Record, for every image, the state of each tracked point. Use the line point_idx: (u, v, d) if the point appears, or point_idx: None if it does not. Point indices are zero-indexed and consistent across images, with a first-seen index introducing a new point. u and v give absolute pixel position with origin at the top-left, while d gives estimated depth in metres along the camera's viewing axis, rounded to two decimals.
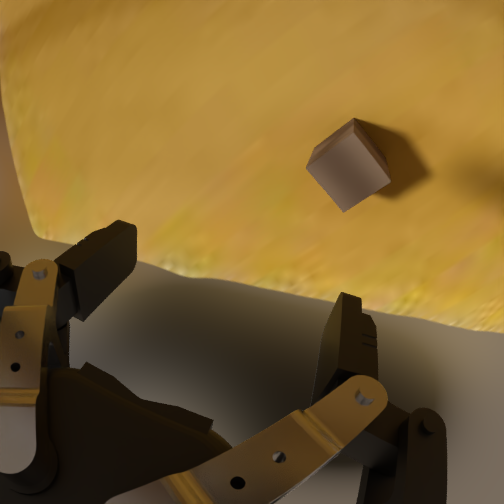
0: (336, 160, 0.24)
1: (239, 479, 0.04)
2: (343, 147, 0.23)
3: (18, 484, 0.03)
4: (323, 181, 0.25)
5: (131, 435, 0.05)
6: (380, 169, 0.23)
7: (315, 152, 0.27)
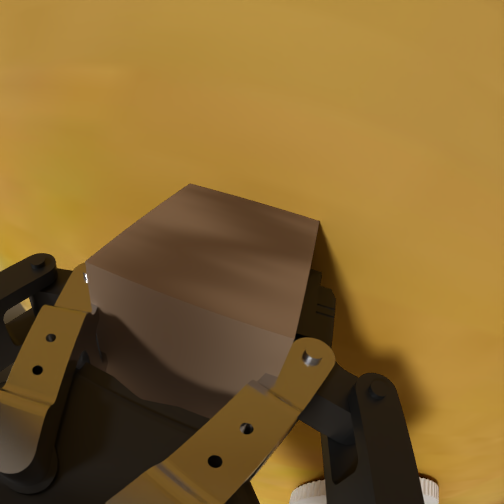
0: (174, 330, 0.07)
1: (239, 479, 0.04)
2: (224, 332, 0.07)
3: (18, 484, 0.03)
4: (105, 321, 0.08)
5: (131, 435, 0.05)
6: None
7: (167, 214, 0.09)
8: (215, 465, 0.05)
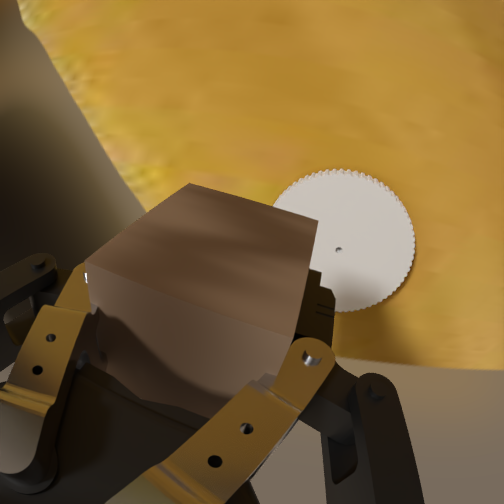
0: (174, 329, 0.07)
1: (239, 479, 0.04)
2: (222, 332, 0.07)
3: (18, 484, 0.03)
4: (104, 320, 0.08)
5: (131, 435, 0.05)
6: None
7: (167, 213, 0.09)
8: (215, 465, 0.05)
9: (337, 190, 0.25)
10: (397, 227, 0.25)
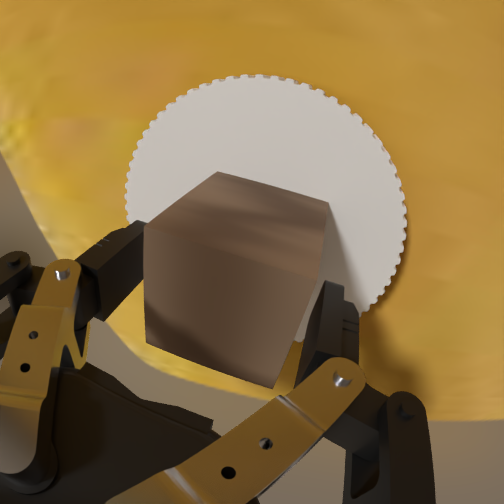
0: (219, 280, 0.09)
1: (239, 479, 0.04)
2: (261, 279, 0.09)
3: (18, 484, 0.03)
4: (155, 279, 0.10)
5: (131, 435, 0.05)
6: (278, 366, 0.10)
7: (204, 193, 0.11)
8: None
9: (239, 109, 0.12)
10: (368, 182, 0.12)
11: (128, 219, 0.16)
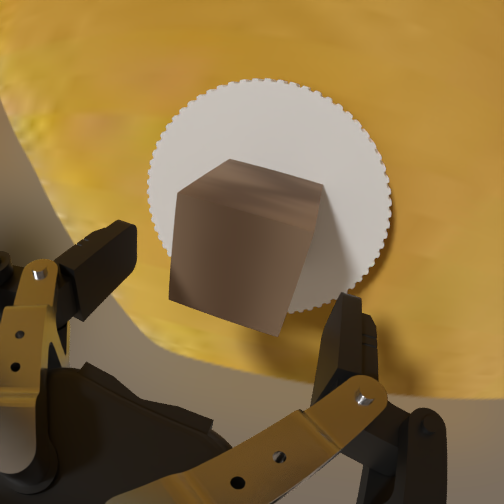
0: (237, 235, 0.11)
1: (239, 479, 0.04)
2: (270, 232, 0.11)
3: (18, 484, 0.03)
4: (182, 238, 0.12)
5: (131, 435, 0.05)
6: (283, 312, 0.12)
7: (221, 173, 0.14)
8: None
9: (250, 107, 0.15)
10: (358, 167, 0.15)
11: (149, 202, 0.19)
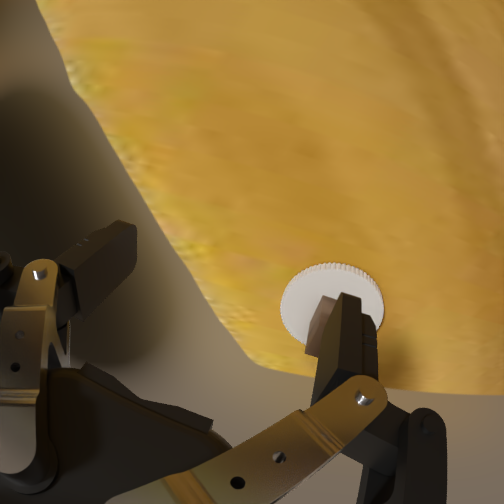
0: None
1: (239, 479, 0.04)
2: None
3: (18, 484, 0.03)
4: (317, 336, 0.36)
5: (131, 435, 0.05)
6: None
7: (325, 309, 0.38)
8: None
9: (335, 279, 0.39)
10: (372, 302, 0.39)
11: (281, 306, 0.43)
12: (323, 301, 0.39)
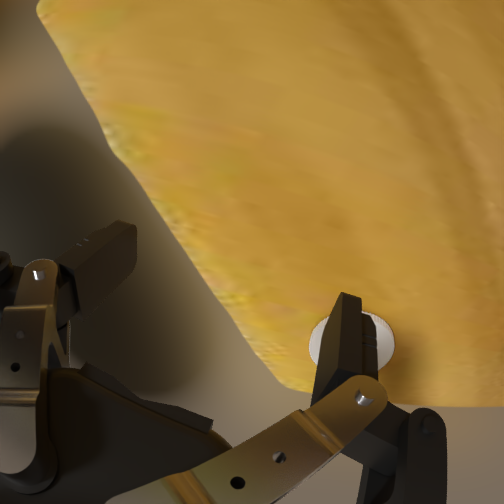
0: None
1: (239, 479, 0.04)
2: None
3: (18, 484, 0.03)
4: None
5: (131, 435, 0.05)
6: None
7: None
8: None
9: None
10: (385, 340, 0.45)
11: (309, 345, 0.49)
12: None
